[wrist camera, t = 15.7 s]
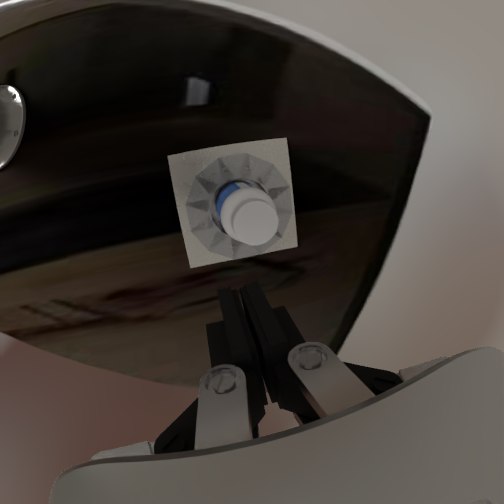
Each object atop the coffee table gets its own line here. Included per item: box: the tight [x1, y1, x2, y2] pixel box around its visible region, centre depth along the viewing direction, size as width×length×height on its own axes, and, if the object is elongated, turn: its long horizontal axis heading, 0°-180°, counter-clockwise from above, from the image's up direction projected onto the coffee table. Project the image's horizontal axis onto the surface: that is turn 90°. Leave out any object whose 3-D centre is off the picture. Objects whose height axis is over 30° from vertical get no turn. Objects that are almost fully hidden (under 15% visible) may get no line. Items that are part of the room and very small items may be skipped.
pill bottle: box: [215, 181, 279, 245], centre depth 28 cm, size 6×5×10 cm
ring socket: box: [168, 138, 298, 268], centre depth 31 cm, size 14×14×4 cm
